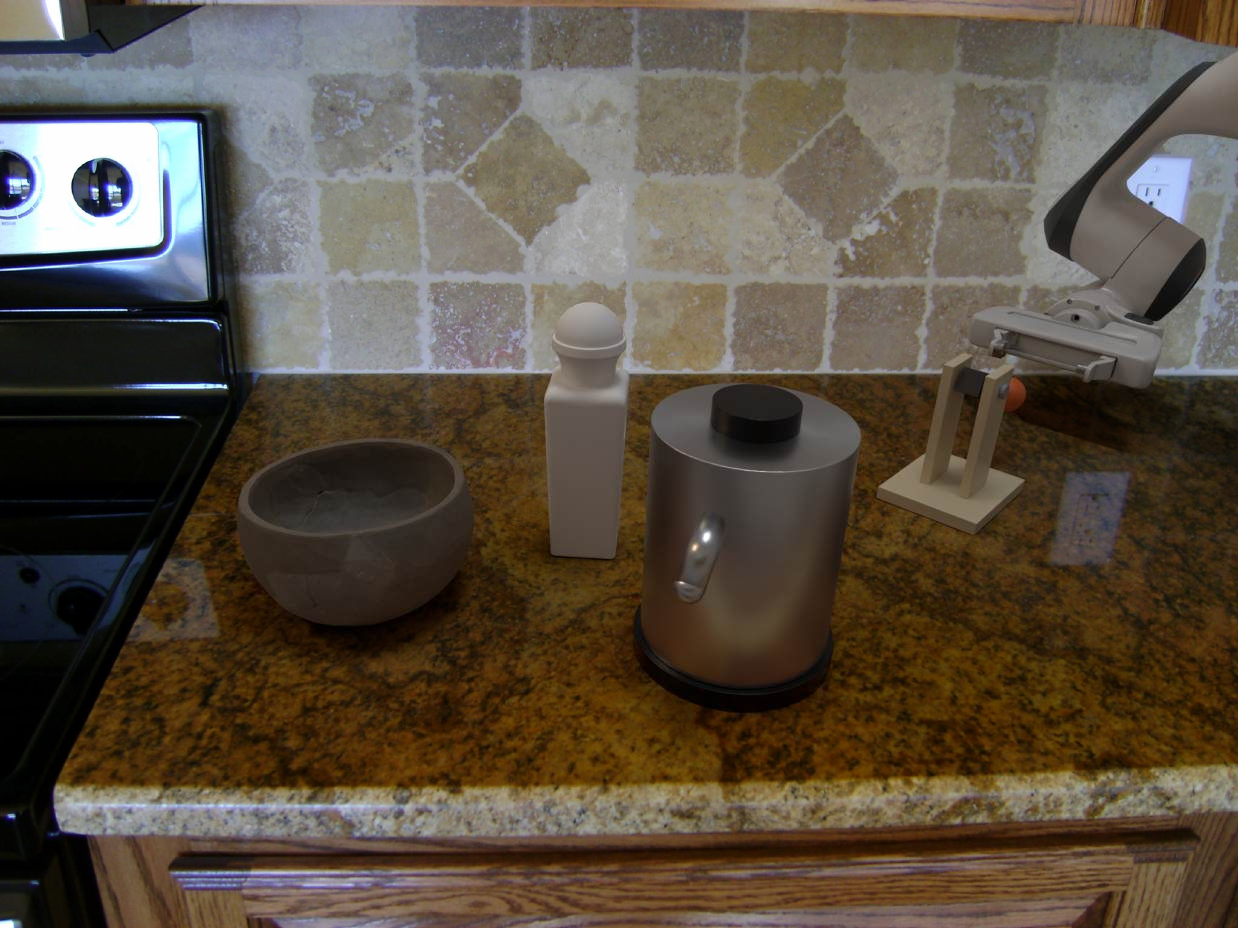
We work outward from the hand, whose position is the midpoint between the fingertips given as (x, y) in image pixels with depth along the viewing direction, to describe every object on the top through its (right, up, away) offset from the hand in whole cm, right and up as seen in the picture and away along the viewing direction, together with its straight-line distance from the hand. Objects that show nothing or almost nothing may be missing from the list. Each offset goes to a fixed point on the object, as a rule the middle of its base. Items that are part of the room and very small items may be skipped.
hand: (1037, 362), depth 101 cm
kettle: (-37, -25, -30) cm, 54 cm away
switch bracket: (-12, -14, -8) cm, 21 cm away
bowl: (-66, -21, -25) cm, 74 cm away
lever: (-9, -5, -9) cm, 14 cm away
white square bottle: (-49, -18, -18) cm, 55 cm away
